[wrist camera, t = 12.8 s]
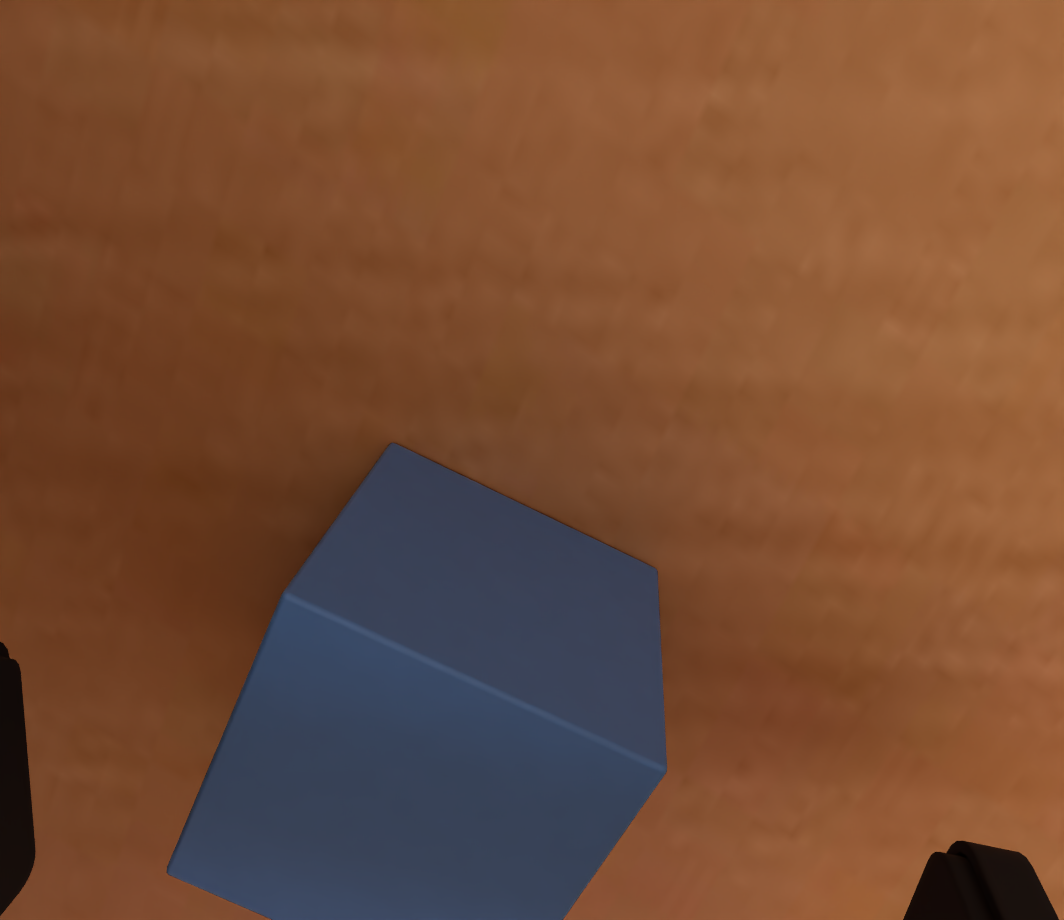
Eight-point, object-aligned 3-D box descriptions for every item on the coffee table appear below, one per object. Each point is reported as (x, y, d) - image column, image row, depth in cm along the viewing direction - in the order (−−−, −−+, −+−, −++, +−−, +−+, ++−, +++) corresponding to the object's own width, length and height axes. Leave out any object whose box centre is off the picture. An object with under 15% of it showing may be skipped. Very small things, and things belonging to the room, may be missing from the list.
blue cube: (293, 661, 13) (162, 875, 10) (391, 439, 12) (281, 592, 8) (533, 770, 14) (495, 1018, 10) (659, 568, 12) (669, 771, 8)
